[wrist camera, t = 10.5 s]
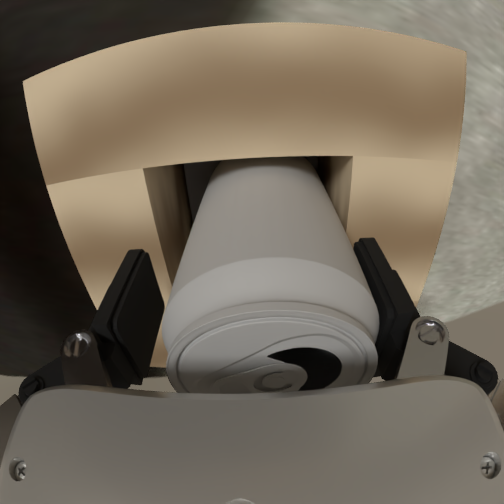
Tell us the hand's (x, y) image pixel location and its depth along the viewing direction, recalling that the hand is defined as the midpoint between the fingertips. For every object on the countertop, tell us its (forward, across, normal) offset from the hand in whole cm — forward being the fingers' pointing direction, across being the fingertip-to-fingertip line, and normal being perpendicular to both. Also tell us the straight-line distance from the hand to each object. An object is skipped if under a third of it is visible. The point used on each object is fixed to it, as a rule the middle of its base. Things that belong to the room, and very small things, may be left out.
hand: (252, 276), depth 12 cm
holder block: (+9, 0, 0) cm, 9 cm away
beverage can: (+7, -1, 0) cm, 7 cm away
